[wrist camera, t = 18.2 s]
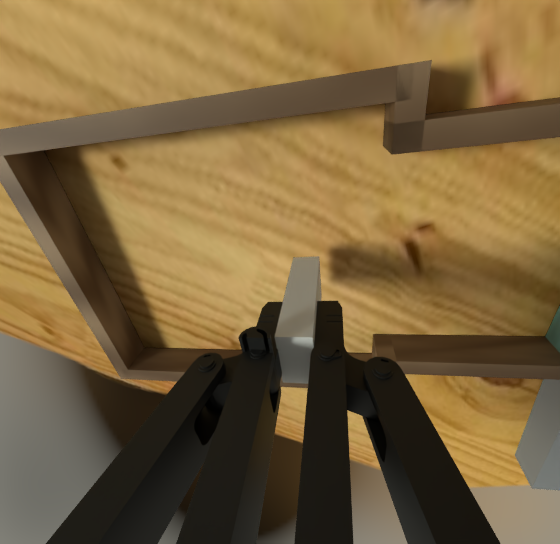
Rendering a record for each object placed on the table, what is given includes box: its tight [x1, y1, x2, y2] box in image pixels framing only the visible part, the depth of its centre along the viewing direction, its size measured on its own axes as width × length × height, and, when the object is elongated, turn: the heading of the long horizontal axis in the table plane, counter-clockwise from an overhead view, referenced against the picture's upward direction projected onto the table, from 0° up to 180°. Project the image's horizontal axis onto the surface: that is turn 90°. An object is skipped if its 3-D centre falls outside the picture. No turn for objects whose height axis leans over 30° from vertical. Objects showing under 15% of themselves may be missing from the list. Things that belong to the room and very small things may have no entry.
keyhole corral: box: [0, 60, 560, 388], centre depth 18 cm, size 19×33×2 cm, turn 97°
